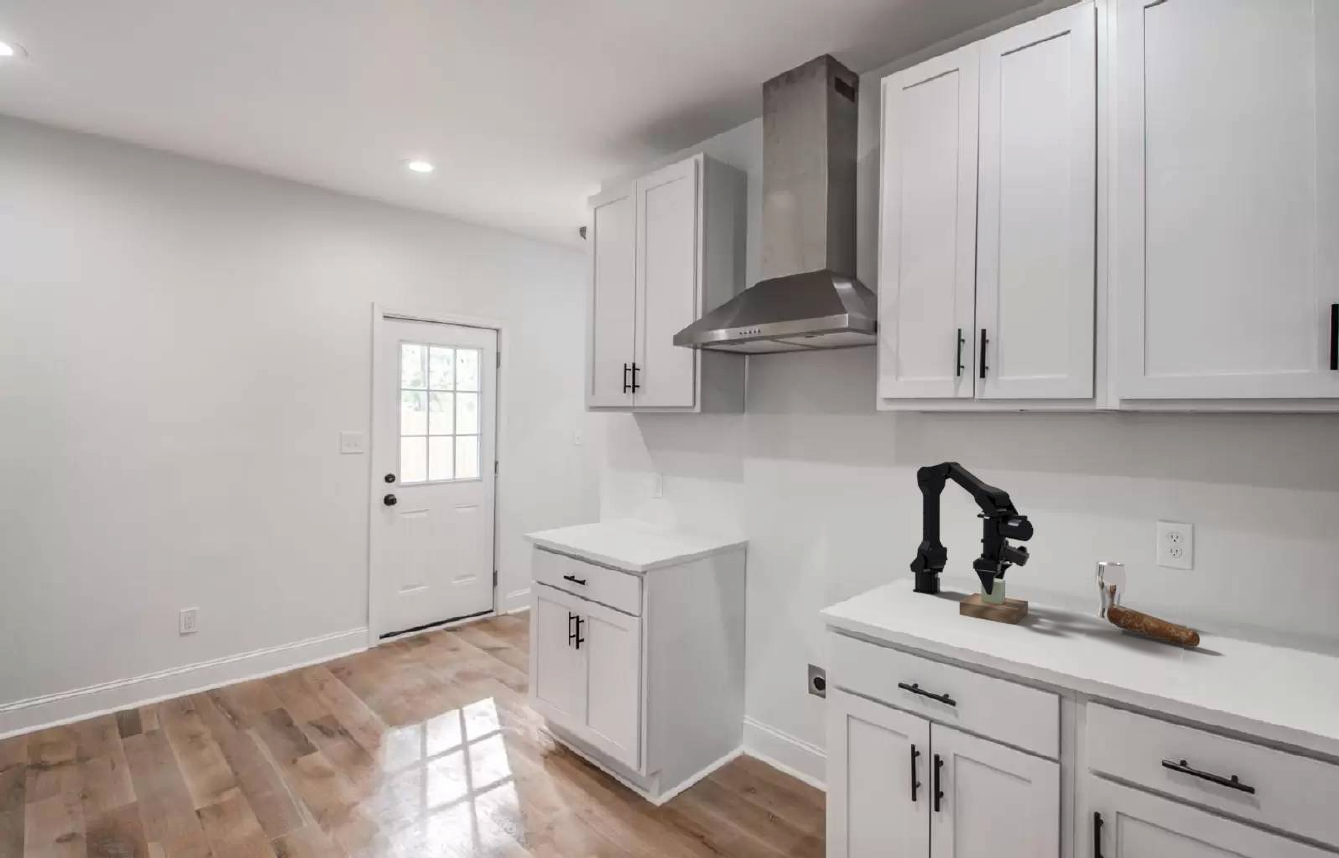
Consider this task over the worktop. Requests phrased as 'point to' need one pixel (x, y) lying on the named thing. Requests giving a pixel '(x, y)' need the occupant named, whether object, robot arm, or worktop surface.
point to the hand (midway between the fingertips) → (993, 591)
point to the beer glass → (1109, 585)
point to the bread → (1151, 626)
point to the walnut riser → (994, 609)
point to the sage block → (994, 592)
